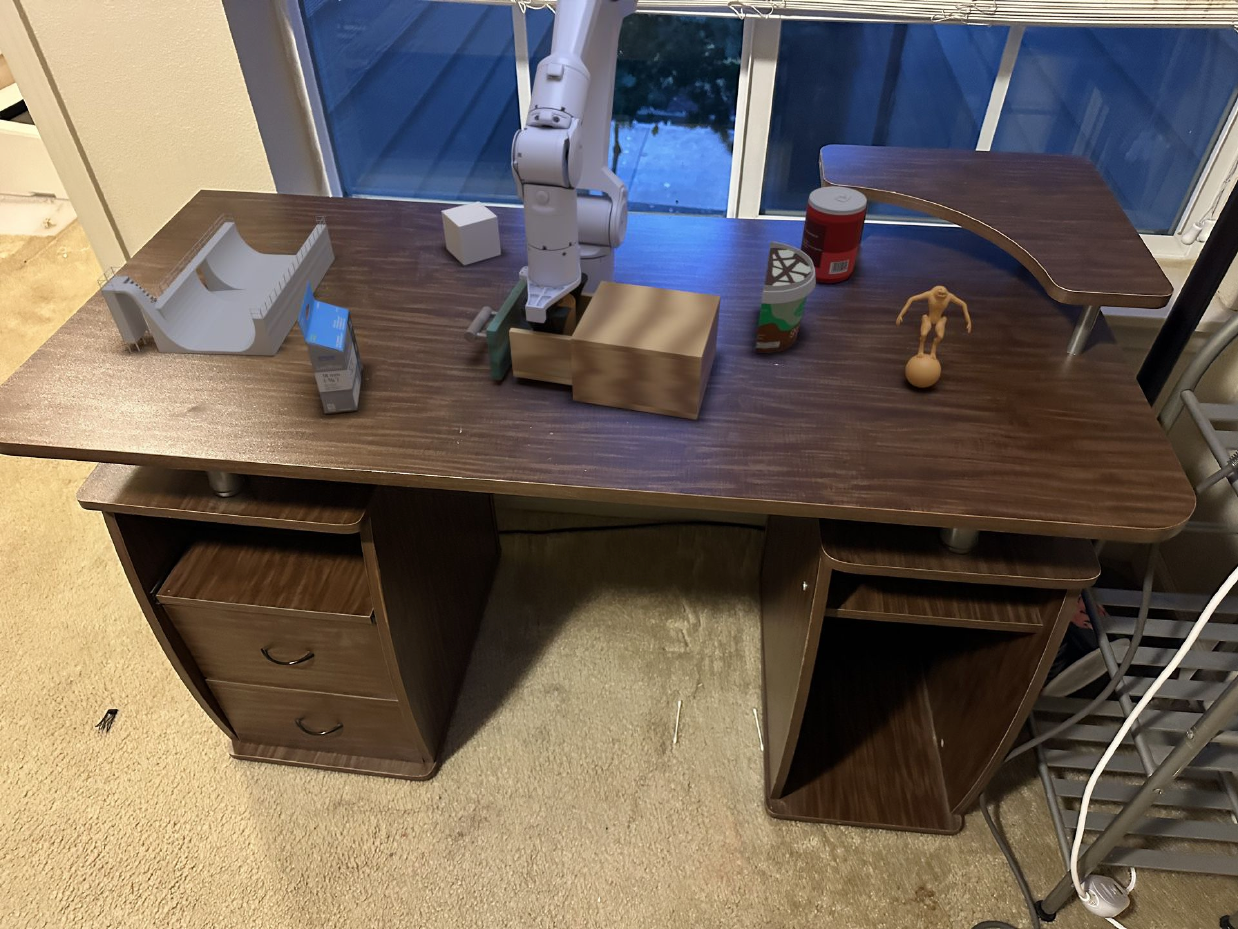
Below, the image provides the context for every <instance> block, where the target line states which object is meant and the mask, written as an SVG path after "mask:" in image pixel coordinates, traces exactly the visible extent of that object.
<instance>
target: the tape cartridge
mask: <svg viewBox="0 0 1238 929" xmlns="http://www.w3.org/2000/svg"><path fill="white" fill-rule="evenodd" d="M307 308H308V313H307ZM306 314H307V316H306ZM297 324H298V327H299V329H300V331H301V334H302V337H303V339H304V343H305V345H306V349H307V353H308V356H309V360H310V363H311V368H312V370H313V374H314V378H315V382H316V386H317V389H318V392H319V395H320V396H319V397H320V400H321V403H322V407H323V412H324V414H325V415H328V414H339V413H348V412H356V411H358V408H359V400H360V394H361V386H362V379H363V378H362V377H363V370H364V367H363V362H362V358H361V354H360V351H359V347H358V342H357V338H356V334H355V328H354V325H353V321H352V317H351V312H350V310H349V309H348V308H344V307H340V306H337V305H334V304H329V303H326V302H323V301H321V300H316V299H315V297H314V293H313V294H312V290H311V287H310V284H309V281H308V283H307V286H306V290H305V294H304V298H303V301H302V305H301V309H300V313H299V317H298V319H297Z"/></svg>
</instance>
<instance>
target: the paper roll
mask: <svg viewBox="0 0 1238 929" xmlns="http://www.w3.org/2000/svg"><path fill="white" fill-rule="evenodd" d="M555 303H558V306H563V307H570V308H572V309H571V311H570V313H569V315H568V317H567V320H566V323H565V327H564V333H563V335H566V336H572V335H573V333H574V331H575V329H576V307H575V298H574V297H573V296H572V295H571V294H569V293H568V294H566V295H565V296H563V297H562V298H561V299H559V300H558V301H556V302H555Z"/></svg>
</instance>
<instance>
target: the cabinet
mask: <svg viewBox="0 0 1238 929" xmlns="http://www.w3.org/2000/svg"><path fill="white" fill-rule="evenodd" d="M721 297H722V296H721V295H716V294H708V293H700V292H693V291H686V290H685V291H684V290H677V289H668V288H663V287H662V288H660V287H653V286H645V285H638V284H632V283H631V284H630V283H623V282H615V281H614V282H608V281H601V282H600V284H599V286H598V288H597V290H596V292H595V294H594V295H593V297H592V299H591V301H590V303H589V305H588V307H587V309H586V311H585V312H584V314H583V316H582V318H581V320H580V322H579V324H578V326H577V328H576V329H575V331H574V333H573V335H572V337H571V360H572V385H571V386H572V401H573V402H580V403H587V404H591V405H592V404H593V405H597V406H598V405H599V406H606V407H612V408H619V409H624V410H625V409H626V410H632V411H638V412H642V413H643V412H645V413H650V414H657V415H664V416H668V417H669V416H670V417H676V418H683V419H689V420H698V417H699V413H700V410H701V407H702V402H703V400H704V396H705V392H706V389H707V386H708V382H709V378H710V375H711V372H712V368H713V365H714V361H715V359H716V352H717V351H716V350H717V341H718V332H719V331H718V329H719V320H720V310H721V299H722V298H721Z"/></svg>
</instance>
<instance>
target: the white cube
mask: <svg viewBox="0 0 1238 929" xmlns="http://www.w3.org/2000/svg"><path fill="white" fill-rule="evenodd" d="M440 211H441V213H440V214H441V219H442V225H443V233H444V239H445V240H444V241H445V246H446V250H447V251H448V252H449V253H450V254H451V255H452V256H454V257H455V259H456V260H458V261H459V263H461V264H462V265H463V266H467V265H470V264H473V263H477V262H480V261H484V260H487V259H491V258H494V257H498V256H501V255H502V253H501V252H502V251H501V241H500V231H499V220H498V216H497V215H496V214H495V213H494V212H493V211H491V210H490V209H489V208H487V207H486V206H485V205H484V204H482V203H481V202H480V201H475V202H471V203H467V204H463V205H459V206H455V207H451V208H448V209H444V210H440Z"/></svg>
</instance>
